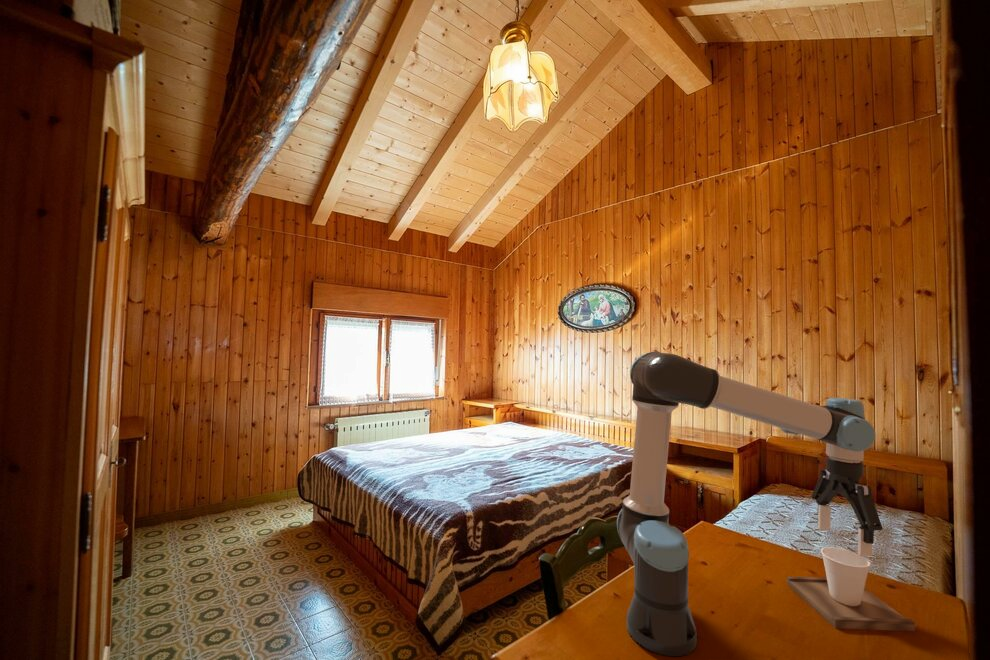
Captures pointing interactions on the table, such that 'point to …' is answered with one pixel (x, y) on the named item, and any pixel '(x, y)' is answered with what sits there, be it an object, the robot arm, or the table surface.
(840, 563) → the cup
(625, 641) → the table surface
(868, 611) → the board
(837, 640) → the table surface
